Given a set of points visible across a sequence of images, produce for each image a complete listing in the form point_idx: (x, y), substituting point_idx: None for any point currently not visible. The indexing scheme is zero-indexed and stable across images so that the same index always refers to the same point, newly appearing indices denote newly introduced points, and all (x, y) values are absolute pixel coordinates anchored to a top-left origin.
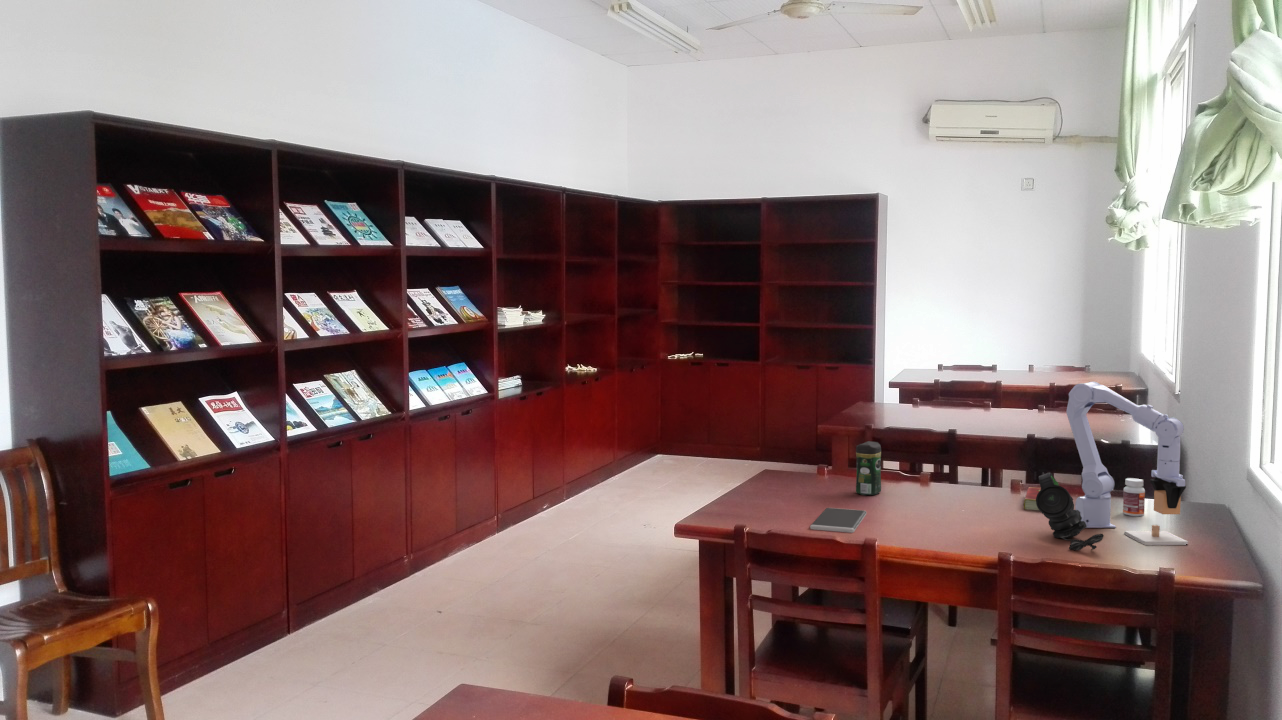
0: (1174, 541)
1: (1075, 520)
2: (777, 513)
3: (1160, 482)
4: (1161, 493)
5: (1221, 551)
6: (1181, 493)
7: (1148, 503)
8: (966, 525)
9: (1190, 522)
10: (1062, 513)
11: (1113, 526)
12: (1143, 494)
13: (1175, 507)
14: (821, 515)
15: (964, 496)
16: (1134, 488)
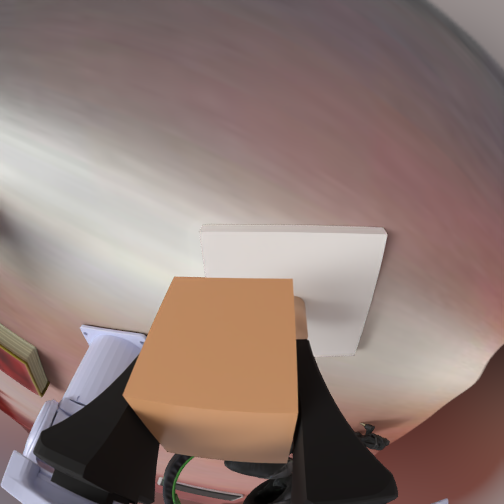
0: (376, 281)
1: (292, 466)
2: (181, 493)
3: (136, 486)
4: (260, 460)
5: (474, 159)
6: (356, 435)
7: None
8: (193, 463)
9: (18, 56)
10: None
11: None
12: None
13: (308, 347)
14: (193, 493)
15: (23, 394)
16: None
